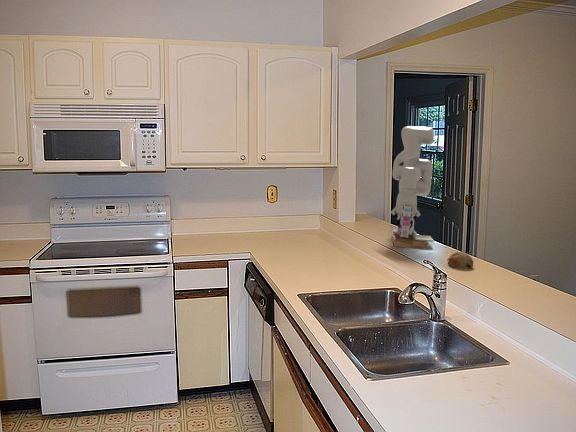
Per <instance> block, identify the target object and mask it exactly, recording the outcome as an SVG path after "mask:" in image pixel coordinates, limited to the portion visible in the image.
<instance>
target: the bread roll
mask: <svg viewBox="0 0 576 432" xmlns="http://www.w3.org/2000/svg"><path fill="white" fill-rule="evenodd" d="M446 260H447V264H448V266H449V267H452V268H456V269H460V268H464V269H463V270H469V269H468V268H470V269H472V268H473V267H474V259H473V258H472V257H471V256H470V255H469V253H466V252H463V251H457V252H454V253H453V254H451V255H449V257H448V258H447V259H446Z"/></svg>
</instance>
